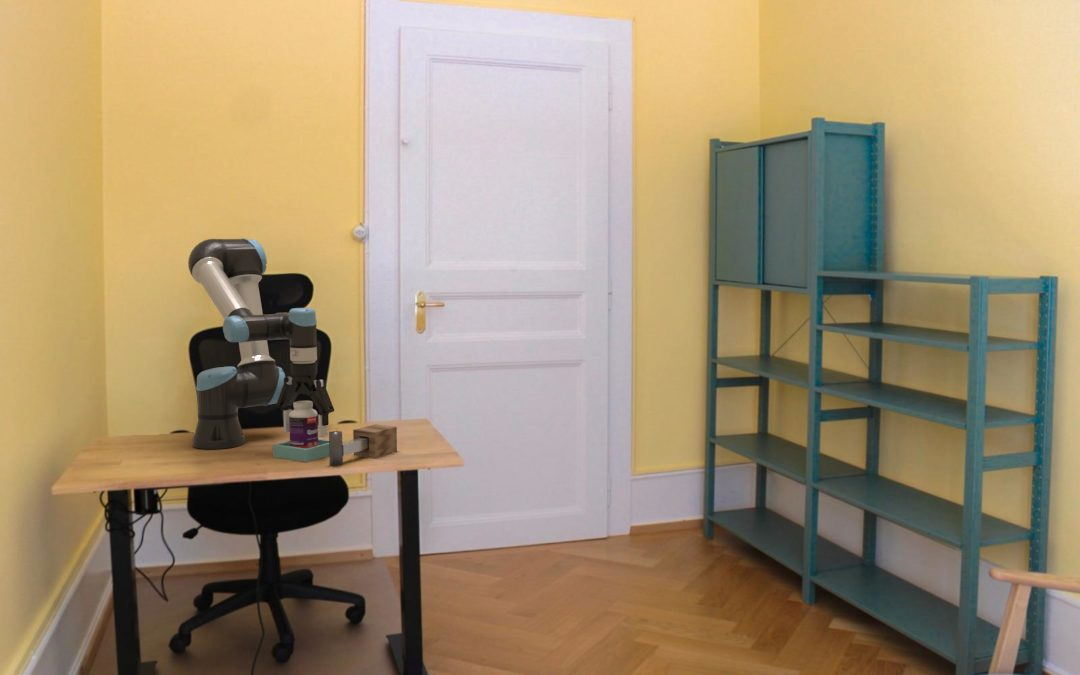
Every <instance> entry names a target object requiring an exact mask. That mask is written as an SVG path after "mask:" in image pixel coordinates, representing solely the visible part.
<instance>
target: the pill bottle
mask: <svg viewBox="0 0 1080 675" xmlns="http://www.w3.org/2000/svg"><path fill="white" fill-rule="evenodd" d="M292 405H293V406H292V407H293V409H292V411H291V412H290V413H289V428H290V432H289V441H290V446H291V447H298V448H305V449H307V448H311V447H315V446H318V439H319V420H318V415H319V414H318V411H317V410H316V409H314V408H313V406H314V402H313V400H297V401H296V400H295V401H294V402H293V404H292Z"/></svg>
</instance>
